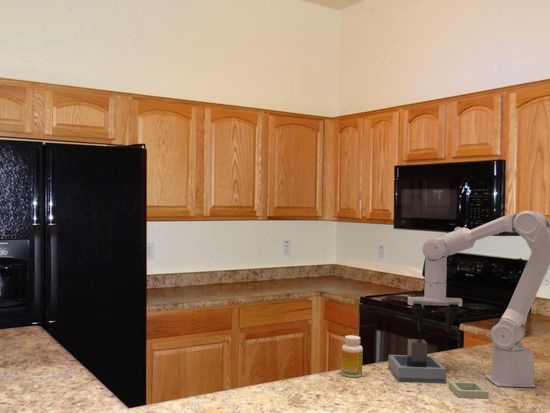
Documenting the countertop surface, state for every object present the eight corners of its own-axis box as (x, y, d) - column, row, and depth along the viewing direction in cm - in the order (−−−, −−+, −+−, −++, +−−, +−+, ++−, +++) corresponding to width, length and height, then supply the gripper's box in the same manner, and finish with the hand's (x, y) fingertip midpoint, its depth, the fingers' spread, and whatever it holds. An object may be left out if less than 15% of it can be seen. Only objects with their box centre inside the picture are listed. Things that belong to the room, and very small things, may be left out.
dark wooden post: (422, 369, 145) (423, 339, 145) (426, 374, 141) (427, 343, 141) (407, 369, 145) (407, 338, 145) (410, 373, 141) (411, 342, 141)
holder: (477, 388, 134) (477, 382, 134) (488, 398, 127) (488, 391, 127) (448, 387, 134) (448, 381, 134) (458, 397, 127) (458, 391, 127)
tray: (432, 368, 150) (432, 356, 150) (446, 383, 138) (446, 369, 138) (388, 367, 150) (388, 354, 150) (398, 381, 138) (398, 367, 138)
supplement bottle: (361, 378, 140) (362, 340, 140) (340, 376, 141) (341, 338, 141) (362, 372, 145) (363, 335, 145) (342, 370, 146) (343, 333, 146)
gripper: (456, 280, 155) (455, 329, 155) (405, 279, 155) (404, 327, 155) (465, 284, 148) (464, 334, 148) (412, 282, 148) (410, 333, 148)
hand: (434, 331), depth 151 cm, fingers open, 7 cm apart
